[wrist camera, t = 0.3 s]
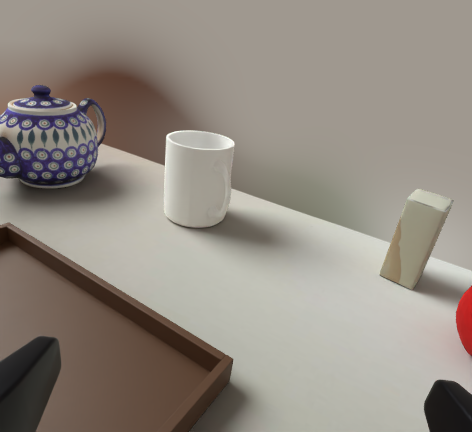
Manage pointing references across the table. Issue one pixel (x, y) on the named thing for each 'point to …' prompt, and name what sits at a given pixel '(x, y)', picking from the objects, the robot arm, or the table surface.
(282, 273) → the table surface
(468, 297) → the fruit
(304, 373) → the table surface
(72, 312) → the tray
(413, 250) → the box
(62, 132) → the teapot
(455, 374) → the table surface
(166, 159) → the mug
